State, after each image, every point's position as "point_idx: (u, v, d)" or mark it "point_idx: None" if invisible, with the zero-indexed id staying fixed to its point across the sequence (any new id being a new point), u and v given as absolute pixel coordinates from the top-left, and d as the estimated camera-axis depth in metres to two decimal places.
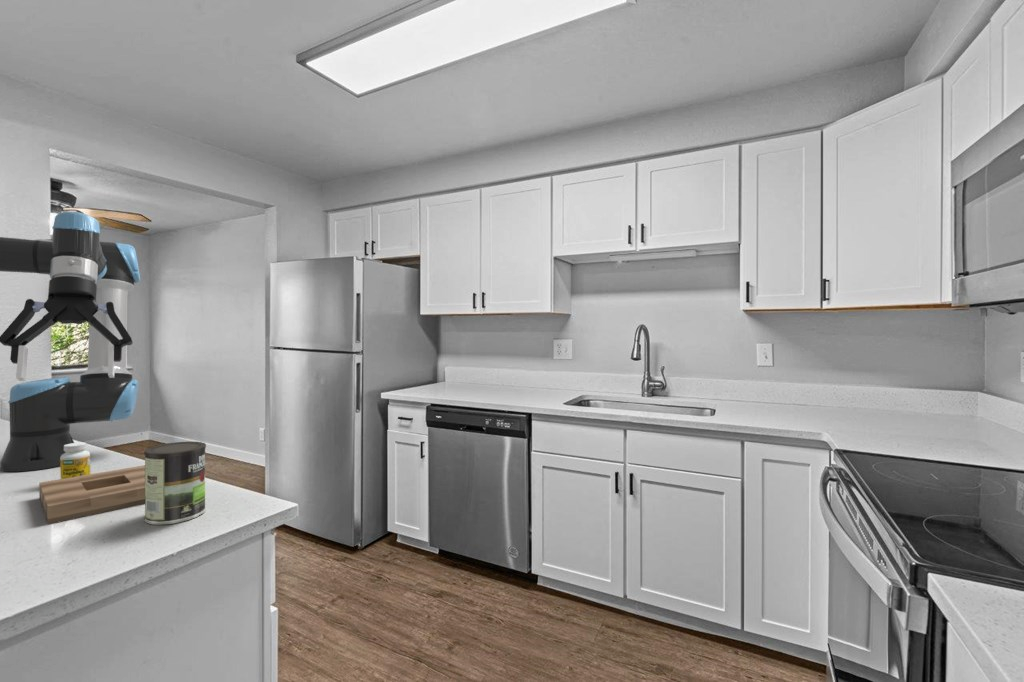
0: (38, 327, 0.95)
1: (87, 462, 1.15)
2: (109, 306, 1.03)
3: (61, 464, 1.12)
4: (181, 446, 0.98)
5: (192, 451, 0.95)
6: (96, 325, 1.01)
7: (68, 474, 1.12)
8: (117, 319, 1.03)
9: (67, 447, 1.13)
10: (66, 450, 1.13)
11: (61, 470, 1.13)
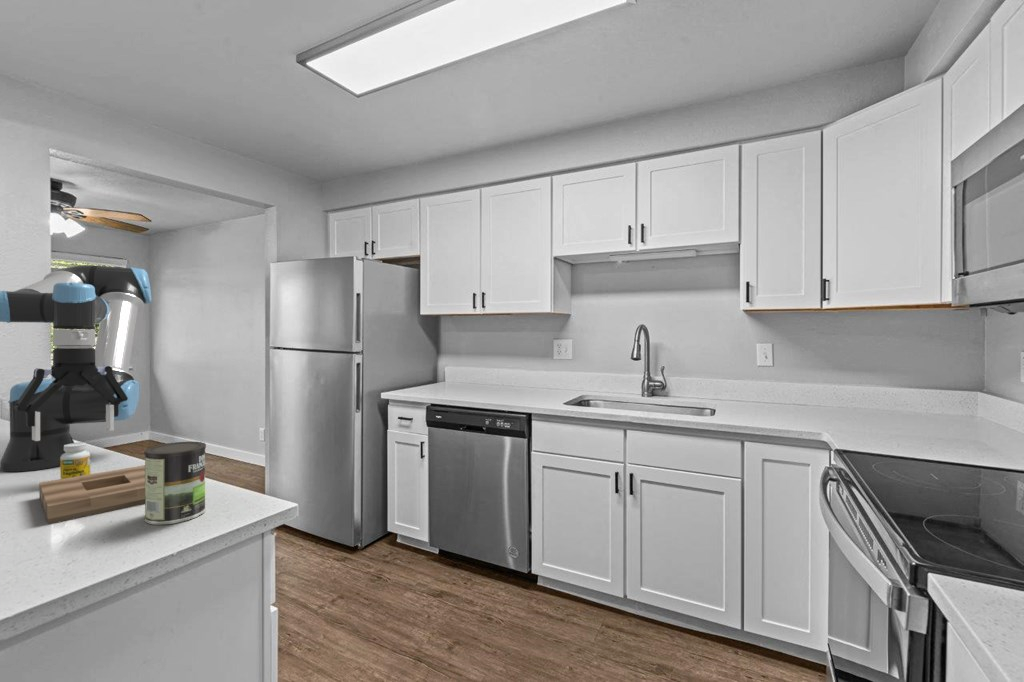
0: (50, 394, 1.10)
1: (87, 462, 1.15)
2: (108, 370, 1.19)
3: (61, 464, 1.12)
4: (181, 446, 0.98)
5: (192, 451, 0.95)
6: (98, 388, 1.17)
7: (68, 474, 1.12)
8: (115, 381, 1.20)
9: (67, 447, 1.13)
10: (66, 450, 1.13)
11: (61, 470, 1.13)
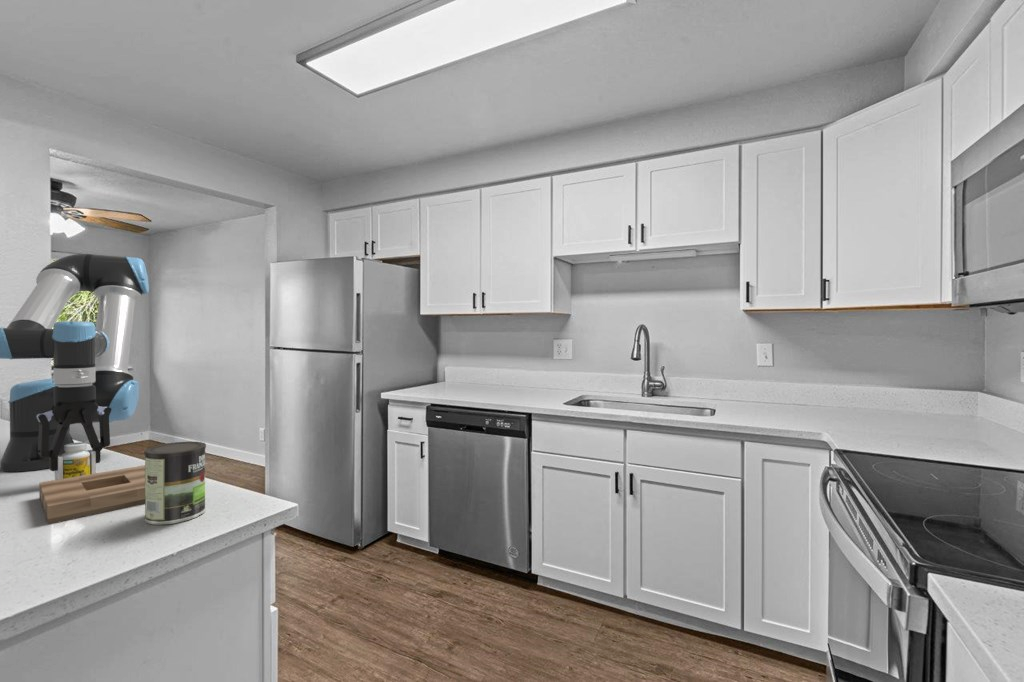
0: (63, 436, 1.12)
1: (87, 462, 1.15)
2: (107, 411, 1.19)
3: None
4: (181, 446, 0.98)
5: (192, 451, 0.95)
6: (89, 429, 1.16)
7: (68, 474, 1.12)
8: (107, 424, 1.19)
9: (67, 447, 1.13)
10: (66, 450, 1.13)
11: None
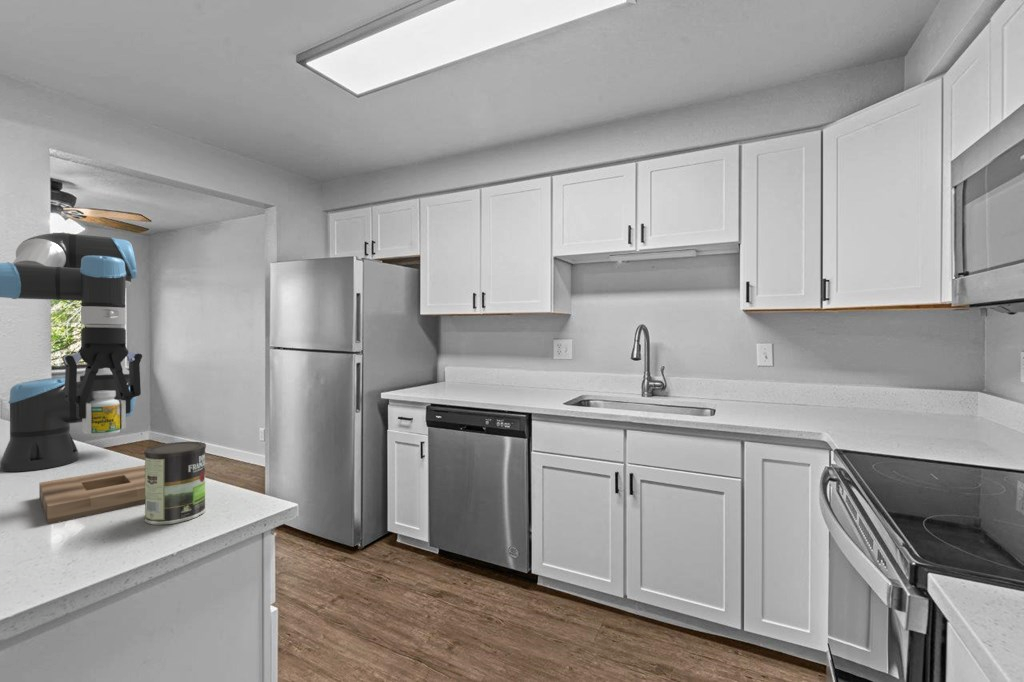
0: (92, 381, 1.02)
1: (117, 411, 1.05)
2: (138, 358, 1.09)
3: None
4: (181, 446, 0.98)
5: (192, 451, 0.95)
6: (119, 376, 1.06)
7: (96, 423, 1.03)
8: (138, 372, 1.09)
9: (96, 393, 1.03)
10: (95, 396, 1.03)
11: None
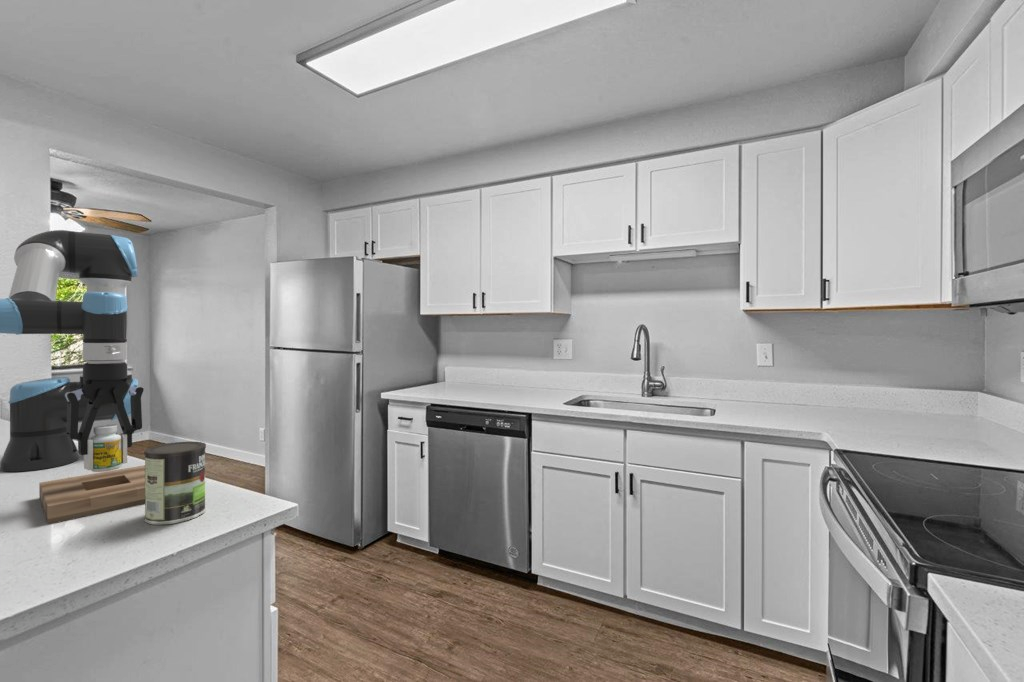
0: (93, 417, 1.02)
1: (118, 446, 1.06)
2: (139, 391, 1.09)
3: None
4: (181, 446, 0.98)
5: (192, 451, 0.95)
6: (120, 410, 1.07)
7: (98, 458, 1.03)
8: (139, 405, 1.10)
9: (97, 429, 1.03)
10: (96, 432, 1.03)
11: None
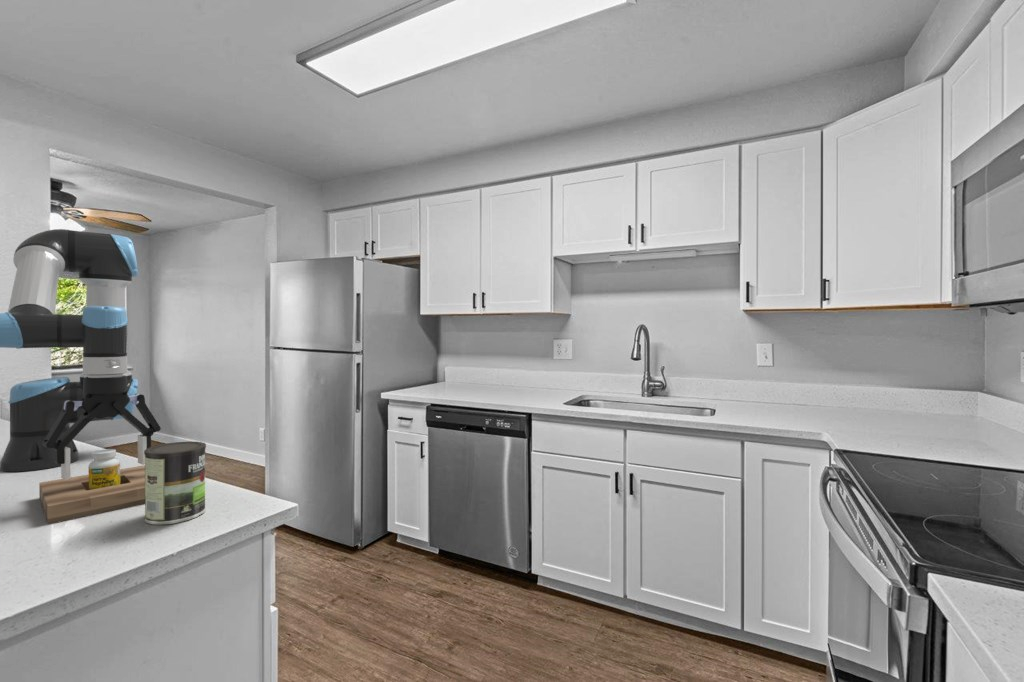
0: (80, 428, 1.01)
1: (117, 471, 1.06)
2: (141, 399, 1.10)
3: (90, 473, 1.03)
4: (181, 446, 0.98)
5: (192, 451, 0.95)
6: (130, 419, 1.08)
7: (97, 484, 1.03)
8: (148, 411, 1.11)
9: (96, 454, 1.03)
10: (95, 458, 1.03)
11: (90, 480, 1.03)
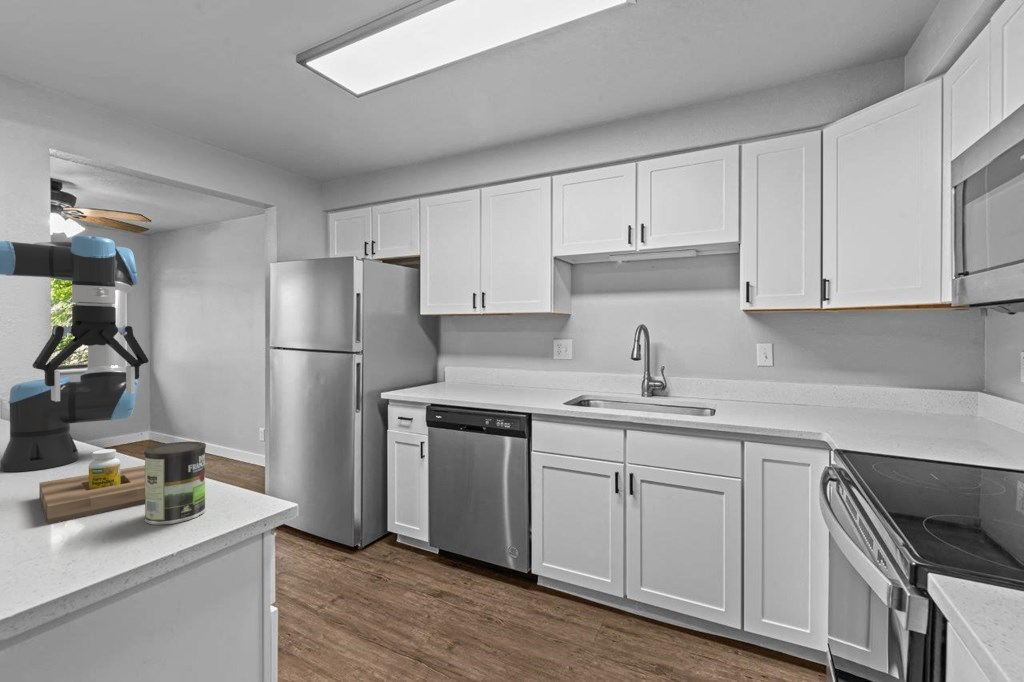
0: (70, 353, 1.04)
1: (117, 471, 1.06)
2: (129, 330, 1.13)
3: (90, 473, 1.03)
4: (181, 446, 0.98)
5: (192, 451, 0.95)
6: (119, 349, 1.12)
7: (97, 484, 1.03)
8: (136, 342, 1.15)
9: (96, 454, 1.03)
10: (95, 458, 1.03)
11: (90, 479, 1.03)
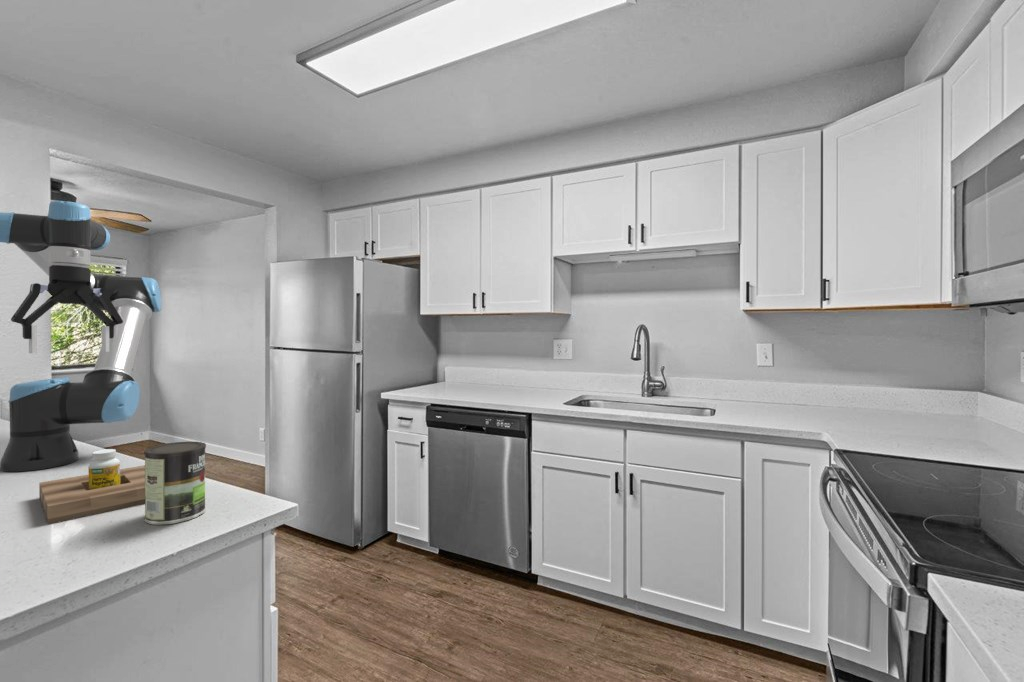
0: (46, 309, 1.12)
1: (117, 471, 1.06)
2: (104, 291, 1.21)
3: (90, 473, 1.03)
4: (181, 446, 0.98)
5: (192, 451, 0.95)
6: (94, 308, 1.20)
7: (97, 484, 1.03)
8: (111, 303, 1.22)
9: (96, 454, 1.03)
10: (95, 458, 1.03)
11: (90, 480, 1.03)
